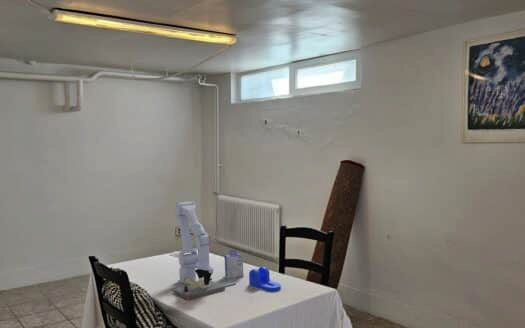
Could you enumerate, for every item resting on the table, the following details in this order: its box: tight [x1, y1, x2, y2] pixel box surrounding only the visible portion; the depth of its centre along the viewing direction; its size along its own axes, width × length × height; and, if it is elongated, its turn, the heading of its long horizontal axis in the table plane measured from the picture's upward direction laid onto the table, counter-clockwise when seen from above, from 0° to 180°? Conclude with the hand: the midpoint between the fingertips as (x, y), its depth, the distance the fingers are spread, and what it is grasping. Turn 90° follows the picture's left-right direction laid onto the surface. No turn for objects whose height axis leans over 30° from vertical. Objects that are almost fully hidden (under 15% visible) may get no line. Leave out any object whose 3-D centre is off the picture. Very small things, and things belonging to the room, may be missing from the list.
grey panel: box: [173, 280, 226, 301], centre depth 243 cm, size 14×22×2 cm, turn 130°
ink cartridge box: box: [224, 249, 244, 279], centre depth 268 cm, size 10×6×14 cm, turn 112°
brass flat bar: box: [183, 278, 203, 291], centre depth 233 cm, size 2×14×6 cm, turn 45°
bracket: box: [248, 266, 282, 292], centre depth 249 cm, size 18×8×9 cm, turn 42°
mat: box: [214, 279, 236, 288], centre depth 254 cm, size 9×9×1 cm
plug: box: [198, 277, 213, 289], centre depth 246 cm, size 5×7×6 cm
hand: (204, 283), depth 245 cm, fingers closed on plug, 4 cm apart
